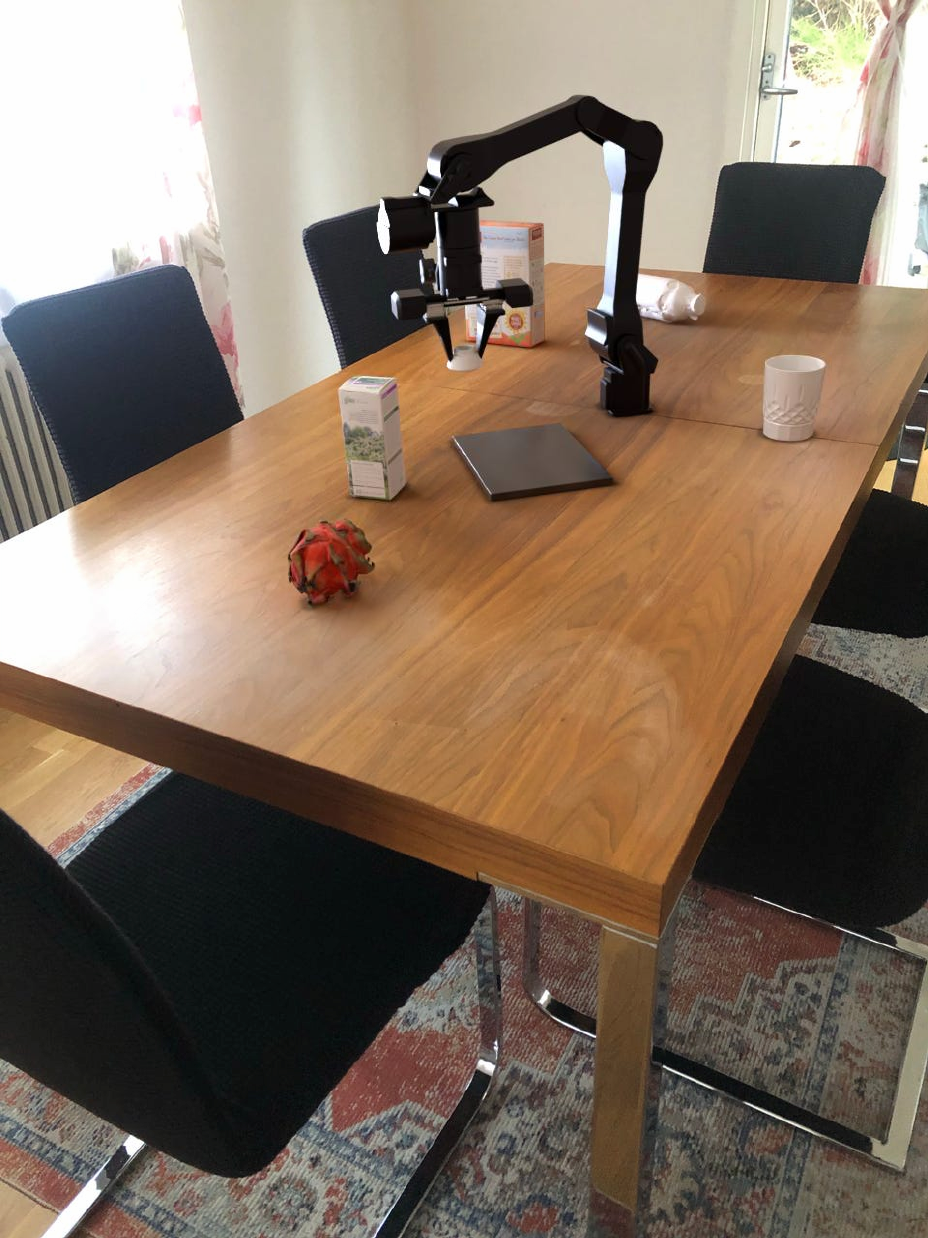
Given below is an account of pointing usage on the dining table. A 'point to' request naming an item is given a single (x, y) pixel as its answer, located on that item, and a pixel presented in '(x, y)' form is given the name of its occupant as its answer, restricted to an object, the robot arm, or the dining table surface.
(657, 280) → the white bottle
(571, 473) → the serving board
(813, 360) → the white cup
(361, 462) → the syrup box
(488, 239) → the cracker box
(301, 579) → the dragon fruit
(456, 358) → the lidless jar
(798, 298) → the dining table surface
